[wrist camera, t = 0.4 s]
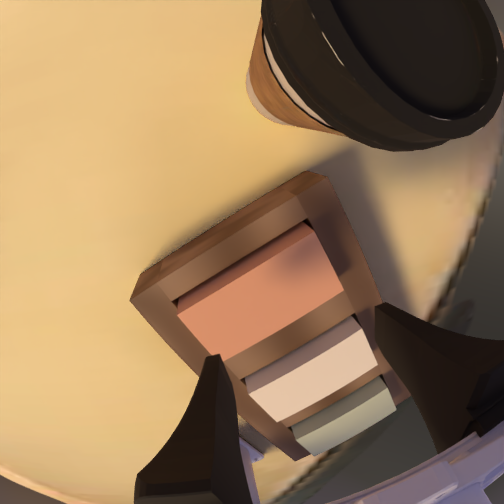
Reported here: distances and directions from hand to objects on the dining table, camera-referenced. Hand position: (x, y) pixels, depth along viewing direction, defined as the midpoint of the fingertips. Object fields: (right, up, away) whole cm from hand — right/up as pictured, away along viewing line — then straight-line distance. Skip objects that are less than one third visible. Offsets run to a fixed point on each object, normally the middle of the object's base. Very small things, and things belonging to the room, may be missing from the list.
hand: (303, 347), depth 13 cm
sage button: (+6, -10, +14) cm, 18 cm away
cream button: (+2, -4, +11) cm, 12 cm away
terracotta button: (-2, +3, +8) cm, 9 cm away
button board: (+2, -3, +13) cm, 13 cm away
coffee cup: (0, +16, +6) cm, 17 cm away
